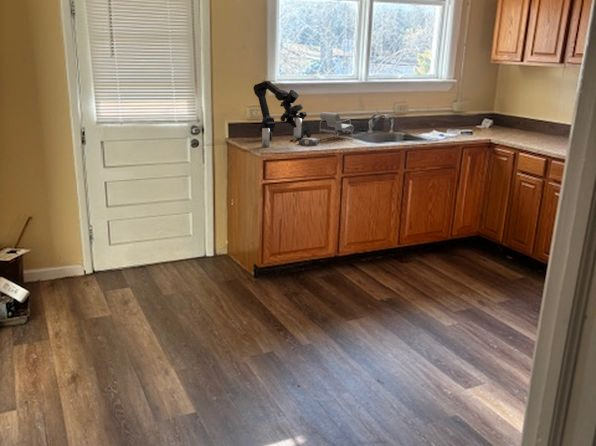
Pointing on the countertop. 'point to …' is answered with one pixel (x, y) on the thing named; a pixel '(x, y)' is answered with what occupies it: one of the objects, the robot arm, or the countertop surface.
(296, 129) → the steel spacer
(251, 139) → the countertop surface
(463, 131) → the countertop surface
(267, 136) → the spacer
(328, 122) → the chair
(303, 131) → the handgun
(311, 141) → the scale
